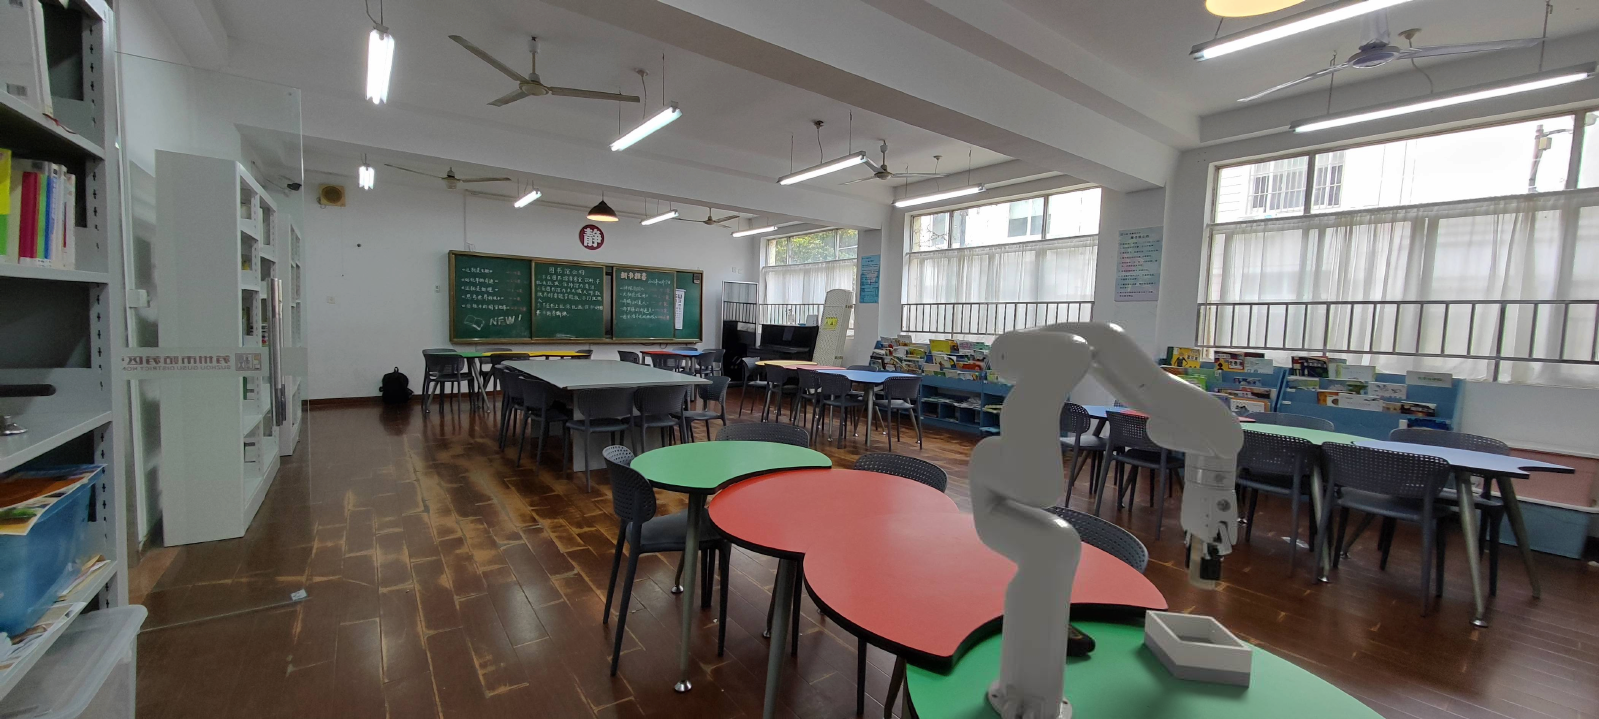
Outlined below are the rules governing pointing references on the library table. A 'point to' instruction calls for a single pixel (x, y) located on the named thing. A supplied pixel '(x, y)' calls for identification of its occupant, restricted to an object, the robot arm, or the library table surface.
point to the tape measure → (1079, 642)
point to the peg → (1198, 565)
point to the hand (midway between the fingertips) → (1202, 573)
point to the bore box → (1197, 648)
